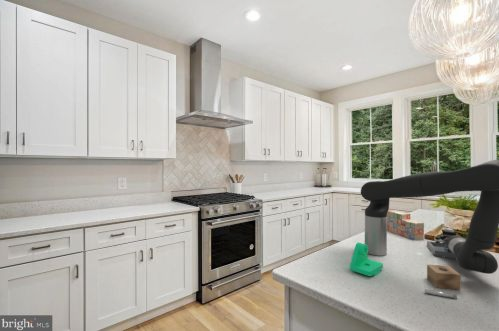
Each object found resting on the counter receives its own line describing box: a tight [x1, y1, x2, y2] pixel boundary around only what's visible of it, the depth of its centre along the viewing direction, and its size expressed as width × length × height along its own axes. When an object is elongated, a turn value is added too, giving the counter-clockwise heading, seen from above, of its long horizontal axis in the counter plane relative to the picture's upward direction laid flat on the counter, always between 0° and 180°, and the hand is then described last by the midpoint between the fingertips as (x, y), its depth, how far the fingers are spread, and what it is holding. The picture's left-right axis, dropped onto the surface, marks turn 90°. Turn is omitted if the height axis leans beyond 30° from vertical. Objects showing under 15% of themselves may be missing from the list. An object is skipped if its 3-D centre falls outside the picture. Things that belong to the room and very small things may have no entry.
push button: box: [441, 227, 457, 252], centre depth 116 cm, size 7×5×10 cm
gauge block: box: [426, 264, 462, 291], centre depth 87 cm, size 7×7×5 cm
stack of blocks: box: [387, 209, 425, 241], centre depth 146 cm, size 21×6×12 cm, turn 11°
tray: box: [426, 240, 457, 260], centre depth 116 cm, size 14×15×2 cm
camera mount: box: [349, 242, 384, 277], centre depth 98 cm, size 12×8×10 cm, turn 130°
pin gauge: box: [424, 289, 458, 299], centre depth 79 cm, size 8×1×1 cm, turn 66°
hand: (447, 236), depth 119 cm, fingers closed on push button, 3 cm apart
